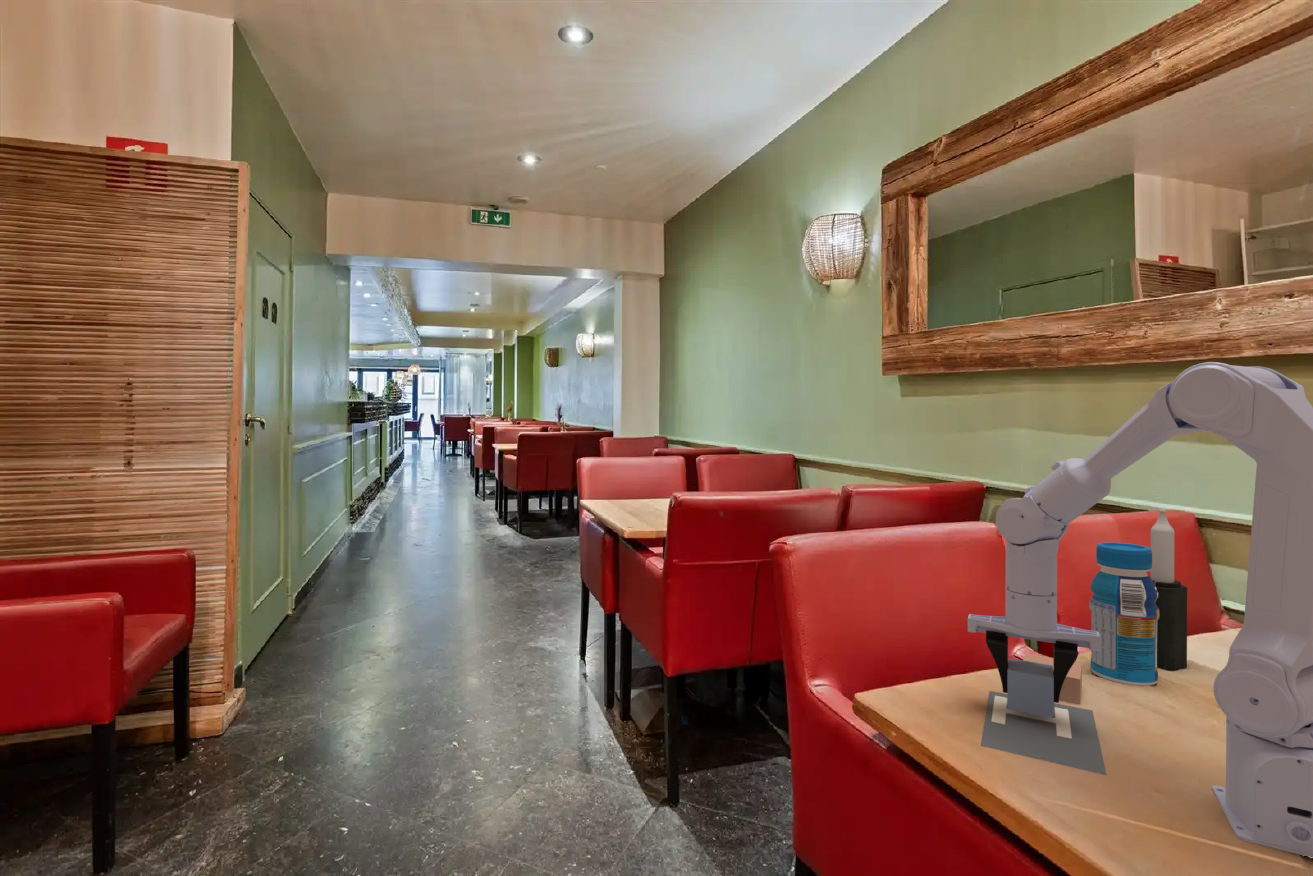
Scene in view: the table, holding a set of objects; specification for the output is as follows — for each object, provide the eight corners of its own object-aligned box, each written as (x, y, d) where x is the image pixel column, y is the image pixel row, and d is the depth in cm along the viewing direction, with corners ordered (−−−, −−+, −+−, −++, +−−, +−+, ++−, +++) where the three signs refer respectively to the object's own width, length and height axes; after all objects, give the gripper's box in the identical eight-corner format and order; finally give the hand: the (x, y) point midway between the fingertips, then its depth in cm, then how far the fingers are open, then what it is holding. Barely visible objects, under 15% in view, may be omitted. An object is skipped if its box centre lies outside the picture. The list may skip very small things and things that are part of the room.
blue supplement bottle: (1078, 673, 94) (1078, 543, 94) (1105, 663, 98) (1106, 539, 98) (1142, 693, 87) (1143, 553, 87) (1170, 681, 91) (1170, 547, 91)
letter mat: (1106, 778, 65) (1106, 775, 65) (980, 748, 72) (980, 745, 72) (1092, 712, 81) (1092, 710, 81) (989, 692, 87) (989, 690, 87)
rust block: (1080, 708, 83) (1080, 679, 83) (1020, 695, 87) (1020, 667, 87) (1081, 691, 88) (1082, 663, 88) (1025, 679, 92) (1025, 653, 92)
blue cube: (1053, 718, 76) (1053, 678, 76) (1007, 708, 79) (1007, 670, 79) (1052, 703, 80) (1052, 665, 80) (1008, 694, 83) (1008, 658, 83)
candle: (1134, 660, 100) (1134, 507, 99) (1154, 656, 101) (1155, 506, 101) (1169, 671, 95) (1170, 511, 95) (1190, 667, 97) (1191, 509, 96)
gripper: (1096, 591, 79) (1096, 696, 79) (970, 577, 86) (970, 673, 87) (1102, 604, 73) (1101, 717, 73) (966, 588, 80) (966, 691, 81)
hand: (1030, 695), depth 79 cm, fingers closed on blue cube, 5 cm apart
